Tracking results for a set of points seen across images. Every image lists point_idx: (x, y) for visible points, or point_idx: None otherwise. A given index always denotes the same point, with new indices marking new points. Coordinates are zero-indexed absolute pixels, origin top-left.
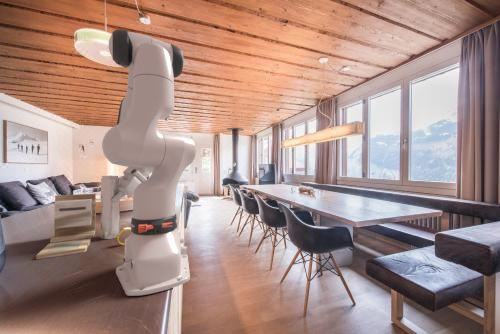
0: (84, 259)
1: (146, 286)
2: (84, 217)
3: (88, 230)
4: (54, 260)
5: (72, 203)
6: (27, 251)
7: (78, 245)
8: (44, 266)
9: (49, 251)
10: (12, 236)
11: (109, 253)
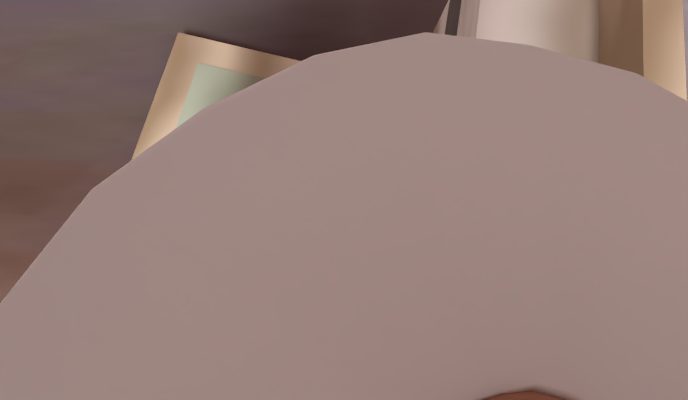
0: (26, 172)
1: None
2: None
3: None
4: (116, 87)
5: (468, 29)
6: (321, 21)
7: None
8: (71, 61)
9: (198, 66)
10: None
11: (14, 267)
